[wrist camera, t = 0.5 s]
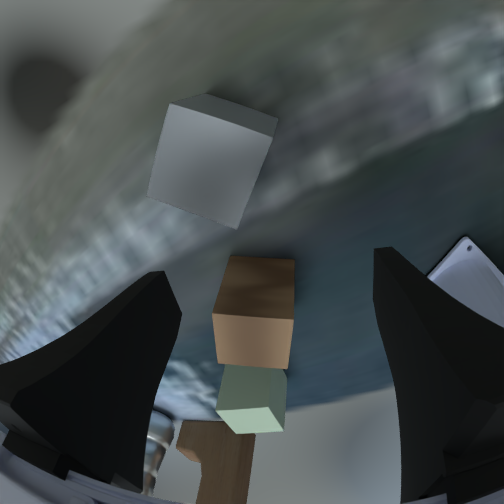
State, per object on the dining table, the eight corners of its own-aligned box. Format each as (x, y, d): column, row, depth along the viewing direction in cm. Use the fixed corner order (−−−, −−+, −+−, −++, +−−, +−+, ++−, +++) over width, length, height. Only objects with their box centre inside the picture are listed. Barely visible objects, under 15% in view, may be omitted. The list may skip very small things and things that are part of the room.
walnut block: (294, 259, 22) (293, 319, 17) (290, 307, 24) (287, 369, 19) (230, 255, 22) (211, 313, 17) (232, 303, 25) (217, 362, 20)
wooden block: (196, 434, 39) (169, 545, 24) (182, 419, 37) (149, 539, 22) (256, 434, 37) (239, 557, 22) (246, 419, 35) (224, 555, 20)
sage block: (273, 349, 27) (268, 406, 22) (287, 378, 29) (283, 430, 24) (227, 356, 28) (215, 410, 23) (244, 383, 31) (236, 433, 25)
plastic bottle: (186, 426, 38) (153, 554, 21) (148, 424, 40) (111, 540, 23) (163, 402, 35) (118, 545, 18) (123, 401, 37) (76, 526, 20)
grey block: (278, 118, 17) (273, 137, 12) (251, 184, 20) (236, 229, 14) (205, 93, 17) (169, 103, 12) (184, 160, 19) (146, 196, 14)
